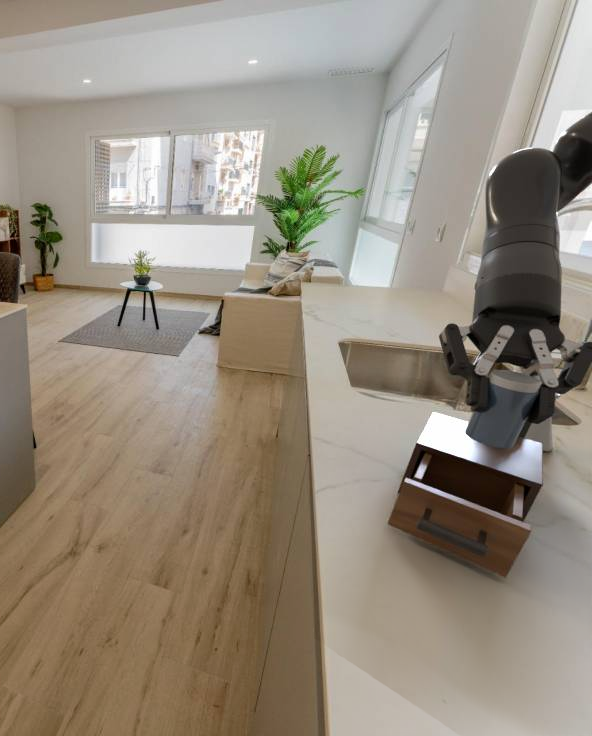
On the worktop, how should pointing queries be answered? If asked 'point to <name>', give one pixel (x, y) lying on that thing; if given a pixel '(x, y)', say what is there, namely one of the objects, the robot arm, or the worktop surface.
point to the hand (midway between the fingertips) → (507, 414)
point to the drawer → (463, 512)
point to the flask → (542, 432)
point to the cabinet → (481, 455)
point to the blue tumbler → (504, 409)
